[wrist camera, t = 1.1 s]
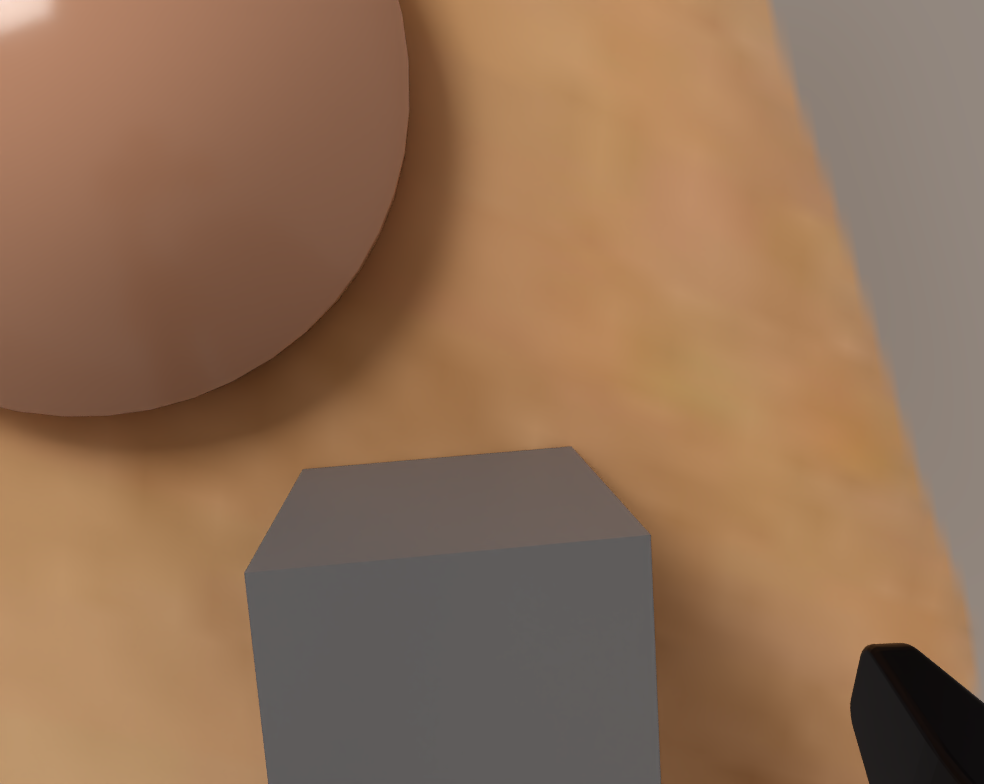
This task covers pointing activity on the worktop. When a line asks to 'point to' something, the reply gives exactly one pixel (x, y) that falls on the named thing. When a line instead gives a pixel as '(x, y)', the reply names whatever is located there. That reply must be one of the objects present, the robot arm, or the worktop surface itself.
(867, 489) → the worktop surface
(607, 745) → the matte slate cube
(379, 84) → the peach round platter
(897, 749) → the robot arm
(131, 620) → the worktop surface
